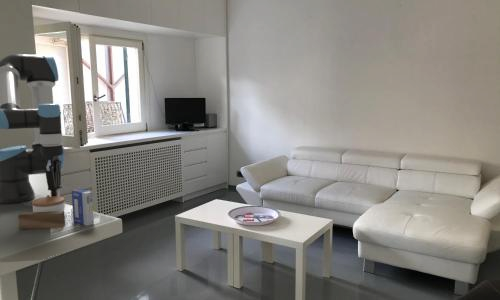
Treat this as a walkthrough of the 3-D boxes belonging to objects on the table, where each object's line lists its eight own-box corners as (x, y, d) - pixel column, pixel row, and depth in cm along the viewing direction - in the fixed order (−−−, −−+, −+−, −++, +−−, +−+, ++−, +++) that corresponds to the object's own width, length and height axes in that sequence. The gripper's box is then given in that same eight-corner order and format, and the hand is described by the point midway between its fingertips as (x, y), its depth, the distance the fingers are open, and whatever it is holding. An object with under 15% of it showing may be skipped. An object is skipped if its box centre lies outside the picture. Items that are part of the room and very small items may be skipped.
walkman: (73, 222, 145) (71, 189, 143) (80, 220, 147) (78, 188, 146) (87, 225, 141) (85, 192, 139) (94, 223, 143) (92, 191, 142)
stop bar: (22, 226, 140) (21, 212, 140) (65, 224, 142) (64, 211, 142) (19, 229, 137) (18, 215, 137) (62, 227, 139) (61, 213, 139)
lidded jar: (72, 218, 149) (70, 194, 148) (44, 226, 140) (42, 200, 139) (54, 214, 155) (52, 190, 153) (27, 222, 145) (25, 196, 144)
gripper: (46, 143, 157) (51, 202, 160) (34, 147, 144) (39, 211, 147) (67, 142, 158) (70, 201, 161) (56, 146, 145) (61, 210, 148)
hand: (55, 205), depth 154 cm, fingers closed
